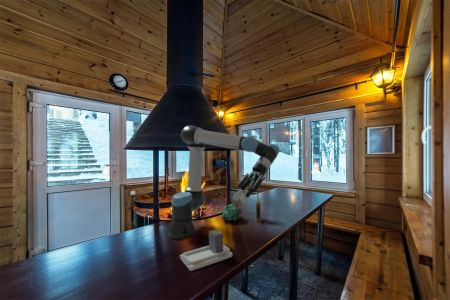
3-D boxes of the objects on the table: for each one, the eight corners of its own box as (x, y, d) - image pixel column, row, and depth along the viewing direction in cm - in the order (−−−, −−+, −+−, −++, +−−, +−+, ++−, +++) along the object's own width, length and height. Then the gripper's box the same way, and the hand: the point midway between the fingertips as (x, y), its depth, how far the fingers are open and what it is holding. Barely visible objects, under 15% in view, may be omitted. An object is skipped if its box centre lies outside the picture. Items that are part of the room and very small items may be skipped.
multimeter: (271, 225, 127) (270, 194, 128) (256, 224, 129) (255, 193, 130) (271, 218, 141) (270, 190, 142) (257, 217, 143) (256, 190, 144)
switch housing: (218, 246, 98) (218, 241, 98) (232, 256, 88) (232, 250, 88) (180, 258, 87) (180, 252, 87) (190, 271, 77) (190, 264, 77)
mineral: (216, 217, 146) (216, 203, 147) (236, 215, 151) (236, 202, 151) (224, 225, 129) (223, 209, 129) (246, 222, 133) (246, 207, 134)
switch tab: (216, 246, 94) (216, 229, 94) (223, 251, 89) (222, 233, 89) (209, 248, 92) (208, 231, 92) (215, 254, 86) (215, 235, 87)
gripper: (277, 172, 103) (254, 208, 93) (254, 170, 118) (232, 202, 109) (269, 162, 100) (245, 199, 90) (247, 162, 115) (224, 193, 106)
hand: (238, 200), depth 100 cm, fingers open, 5 cm apart
